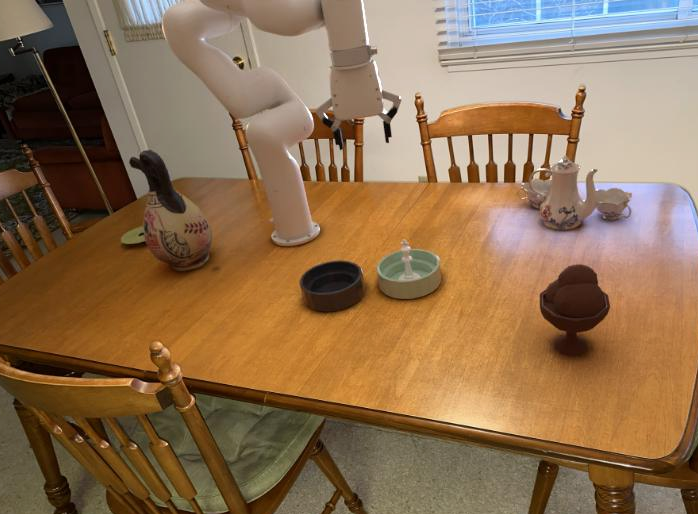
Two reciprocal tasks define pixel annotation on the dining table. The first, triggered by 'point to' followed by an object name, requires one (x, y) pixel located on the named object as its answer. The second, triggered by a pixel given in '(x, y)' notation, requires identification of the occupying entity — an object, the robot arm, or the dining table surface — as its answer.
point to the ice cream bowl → (574, 307)
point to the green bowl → (420, 264)
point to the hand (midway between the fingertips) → (364, 144)
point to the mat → (134, 236)
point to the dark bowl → (332, 285)
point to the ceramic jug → (172, 218)
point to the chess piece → (407, 263)
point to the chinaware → (572, 197)
